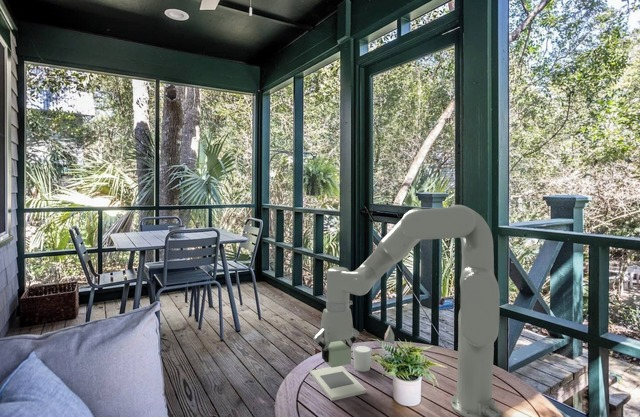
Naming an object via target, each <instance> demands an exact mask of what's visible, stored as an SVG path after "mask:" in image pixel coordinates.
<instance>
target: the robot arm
mask: <svg viewBox="0 0 640 417" xmlns="http://www.w3.org/2000/svg"><path fill="white" fill-rule="evenodd" d="M456 238H457V239H458V238H459V239H460V241H461V242H460V243H461V270H460V271H461V273H460V278H459V288H460V306H459V307H460V309H459V311H458V316H457V317H458V319H457V321H458V323H457V324H458V332H457V333H458V339H457V340H458V343H457V346H458V347H457V368H456V369H457V370H456V371H457V374H456V393H455V394H454V395H453V396H451V399H450V406H451V407H452V409H453V411H455V412H456V413H457V414H458V415H460V416H462V417H500V416H501V415H502V410H501V409H499V408H497V406H496V400H495V399H494V398H493V378H494V377H493V376H494V372H493V371H494V355H495V354H494V351H495V347H494V345H495V344H494V343H495V342H496V340H497V338H498V335H499V331H500V303H501V302H500V301H501V300H500V299H501V298H500V296H501V295H500V286H499V282H498V281H497V278H496V276H495V268H494V266H495V264H494V263H495V262H494V260H495V258H494V257H495V256H494V238H493V234H492V231H491V228H490V226H489V225H488V223H487V222H486V220H485V218H484V217H483V216H482V215H480V214H479V213H478V212H476V211H475V210H474V209H472V208H470V207H468V206H466V205H463V204H454V205H452V206H450V207H449V206H447V207H438V208H420V207H415V208H411V209H410V210H408V211H406V212H405V213H404V214H403V216H402V218H401V219H400V220H399V221H398V222H397V223H396V224H395V225H394V227H392V228H391V229H390V230H389V232H387V234H385V235H384V236H383V238H381V240H380V241H379V243H378V244H377V246H376V248H375V249H374V250H373V252H371V254H370V255H369V256H368V257H367V258H366V260H365V261H364V262H362V264H361V265H360V266H359V267H358V268H356V269H355V270H353V271H350V270H349V268H347V267H343V266H332V267H329V268H328V269H327V271H326V290H325V291H326V292H325V293H326V299H325V306H326V307H325V308H324V309H323V310H322V314H321V315H322V316H321V319H320V320H321V321H320V331H319V332H317V334H316V335H315V336H313V340H314V342H315V343H316V344H317V345H318V346H319V347H320V348H321V359H322V358H323V359H322V360H323V361H324V362H325V363H326V364H327V362H329V350H328V347H329V344H330V342H336V341H342V342H343V341H344V343H345V344H346V345H347V346H348V347H350V348H351V349H352V347H353V344H354V343H355V341H356V339H357V338H358V337H359V335H360V331H358V330H357V329H356V328H354V325H353V324H354V323H353V316H352V310H351V308H350V307H351V305H353V300H350V294H351V295H355V296H364V295H366V294H368V292H369V291H371V289H372V288H373V286H375V284H376V283H377V282H378V281H379V280H380V279H381V278H382V277H383V276H384V274H386V273H387V271H389V270H390V269H391V267H393V266H394V265H395V264H397V263H399V262H400V261H402V260H403V259H404V258H405V257H406V256H407V255H408V253H409V252H411V251H412V250H413V249H414V247H416V245H417V244H419V243H420V242H421V240H438V239H439V240H440V239H441V240H442V239H456ZM321 338H322V341H321Z"/></svg>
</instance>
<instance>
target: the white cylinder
mask: <svg viewBox="0 0 640 417" xmlns="http://www.w3.org/2000/svg"><path fill="white" fill-rule="evenodd" d="M352 347H353V348H352V355H353V357H352V358H353V367H354V370H356V371H357V372H361V373H362V372H368V371H370V370H371V364H372V363H371V362H372V357H373V356H372V354H373V348H372V347H370V346H368V345H365V344H357V345H355V346H352ZM370 357H371V358H370Z"/></svg>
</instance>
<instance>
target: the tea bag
mask: <svg viewBox="0 0 640 417" xmlns="http://www.w3.org/2000/svg"><path fill="white" fill-rule="evenodd" d="M383 340H384V341H383V343H384V342H390V343H392V344H394V345H395V334H394V331H393V329H392V327H391V325H390V324H389V325H388V327H387V330H386V331H385V333H384V339H383Z"/></svg>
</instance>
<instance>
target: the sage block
mask: <svg viewBox="0 0 640 417" xmlns="http://www.w3.org/2000/svg"><path fill="white" fill-rule="evenodd" d="M345 343H346V342H345V341H343V340H342V341H336V342H330V344H329V347H328V350H329V362H327V363H326V364H327V365H328V367H331V368H333V367H338V366H343V367H344V366H346V365H347V366H348V365H352V364H351V363H352V347H351V348H350V347H348V346H347V345H346V344H345ZM321 359H322V360H323V358H322V357H321Z"/></svg>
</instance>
